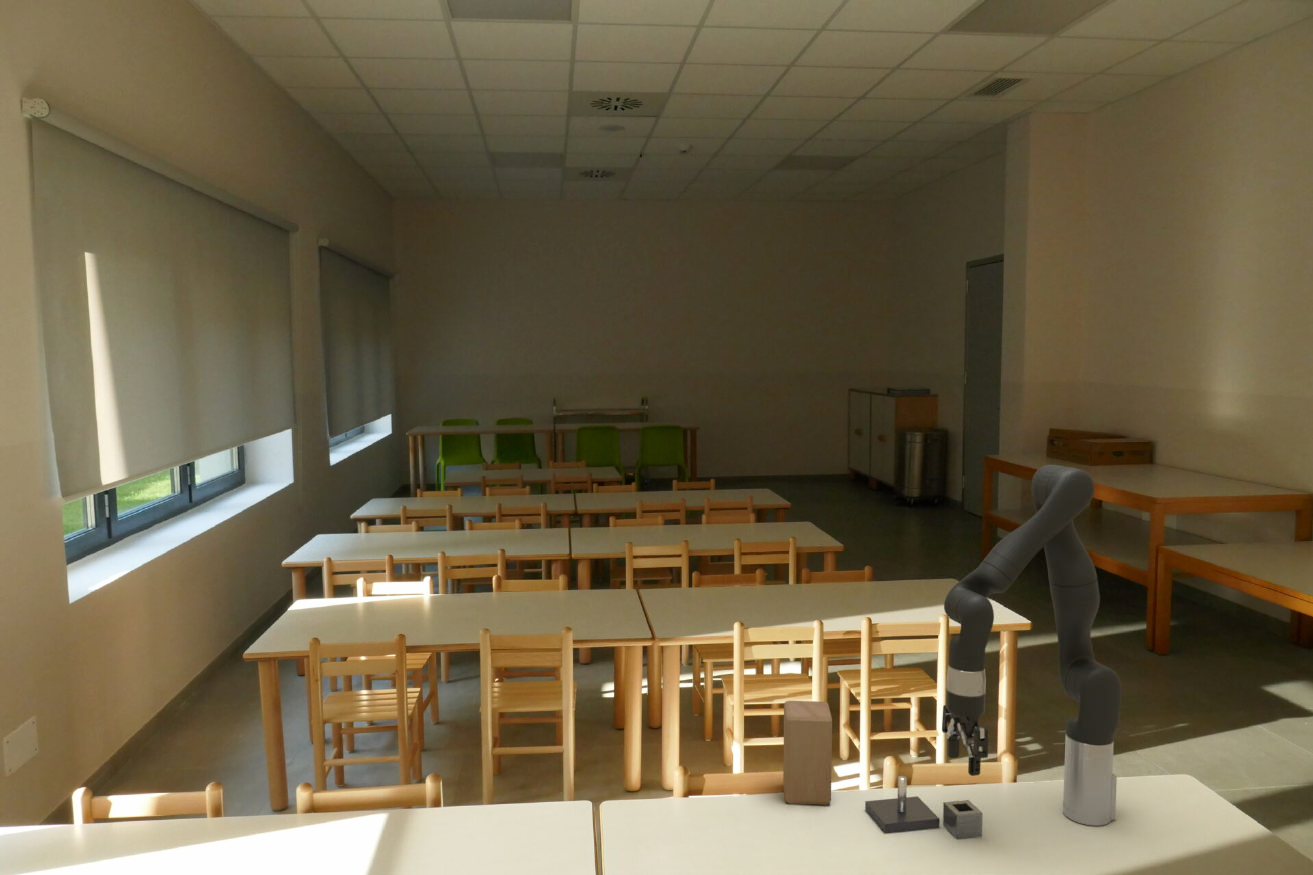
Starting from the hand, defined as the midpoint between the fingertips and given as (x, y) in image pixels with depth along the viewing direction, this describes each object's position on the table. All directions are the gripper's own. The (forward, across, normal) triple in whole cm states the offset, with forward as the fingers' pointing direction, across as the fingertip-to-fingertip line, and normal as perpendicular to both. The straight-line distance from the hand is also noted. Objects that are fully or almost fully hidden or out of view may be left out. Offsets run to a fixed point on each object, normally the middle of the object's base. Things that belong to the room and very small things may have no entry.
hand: (963, 765), depth 191 cm
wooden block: (+14, +21, +26) cm, 36 cm away
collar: (+14, 0, 0) cm, 14 cm away
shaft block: (+14, +7, +10) cm, 18 cm away
